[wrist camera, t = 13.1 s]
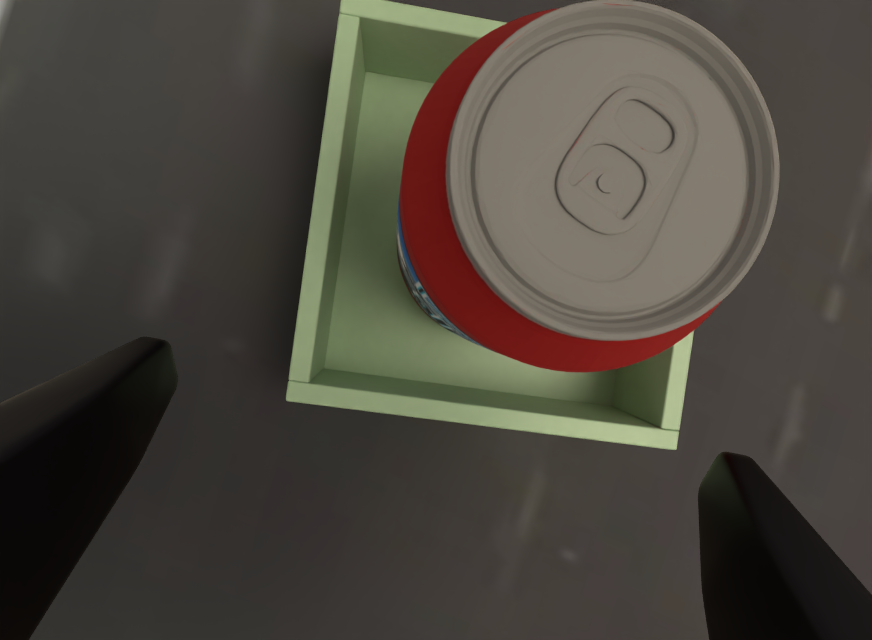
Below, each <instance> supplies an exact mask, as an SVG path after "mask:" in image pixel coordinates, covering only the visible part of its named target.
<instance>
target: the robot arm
mask: <svg viewBox="0 0 872 640" xmlns="http://www.w3.org/2000/svg"><path fill="white" fill-rule="evenodd" d="M177 382H178V375H177V371H176V366H175V362H174V358H173V353H172V349H171V346H170V344H169V343H168V342H167V341H165V340H162V339H157V338H152V337H140V338H138V339H136V340H133V341H131V342H129V343H127V344H125V345H123V346H121V347H118V348H116V349H114V350H112V351H110V352H108V353H106V354H104V355H101V356H99V357H97V358H95V359H93V360H91V361H89V362H86V363H84V364H82V365H80V366H78V367H76V368H74V369H72V370H69V371H67V372H65V373H63V374H61V375H59V376H57V377H54V378H52V379H50V380H48V381H46V382H44V383H42V384H40V385H37V386H35V387H33V388H31V389H29V390H27V391H25V392H22V393H20V394H18V395H16V396H14V397H12V398H10V399H8V400H5V401H3V402H1V403H0V640H29V638H30V637H31V635H32V634H33V632H34V630H35V629H36V627H37V626H38V624H39V622H40V621H41V619H42V618H43V616H44V615H45V613H46V611H47V610H48V608H49V607H50V605H51V604H52V602H53V600H54V599H55V597H56V596H57V594H58V592H59V591H60V589H61V588H62V586H63V585H64V583H65V581H66V580H67V578H68V577H69V575H70V573H71V572H72V570H73V569H74V567H75V566H76V564H77V562H78V561H79V559H80V558H81V556H82V555H83V553H84V551H85V550H86V548H87V547H88V545H89V543H90V542H91V540H92V539H93V537H94V536H95V534H96V532H97V531H98V529H99V528H100V526H101V524H102V523H103V521H104V520H105V518H106V517H107V515H108V513H109V512H110V510H111V509H112V507H113V506H114V504H115V502H116V501H117V499H118V498H119V496H120V494H121V493H122V491H123V490H124V488H125V487H126V485H127V483H128V482H129V480H130V479H131V477H132V475H133V474H134V472H135V470H136V469H137V467H138V465H139V463H140V461H141V459H142V457H143V455H144V453H145V451H146V449H147V447H148V445H149V443H150V441H151V439H152V437H153V435H154V433H155V431H156V429H157V427H158V425H159V423H160V421H161V419H162V417H163V415H164V413H165V411H166V408H167V406H168V404H169V402H170V400H171V398H172V396H173V394H174V392H175V390H176V387H177ZM698 508H699V534H700V560H701V581H702V594H703V601H704V609H705V615H706V621H707V628H708V634H709V640H872V595H871V594H870V592H869V591H868V590H867V589H866V588H865V587H864V586H863V584H862V583H861V582H860V581H859V580H858V579H857V578H856V576H855V575H854V574H853V573H852V572H851V571H850V570H849V568H848V567H847V566H846V565H845V564H844V563H843V562H842V560H841V559H840V558H839V557H838V556H837V555H836V554H835V552H834V551H833V550H832V549H831V548H830V547H829V546H828V544H827V543H826V542H825V541H824V540H823V539H822V538H821V536H820V535H819V534H818V533H817V532H816V531H815V530H814V528H813V527H812V526H811V525H810V524H809V523H808V522H807V520H806V519H805V518H804V517H803V516H802V515H801V514H800V512H799V511H798V510H797V509H796V508H795V507H794V506H793V504H792V503H791V502H790V501H789V500H788V499H787V498H786V496H785V495H784V494H783V493H782V492H781V491H780V490H779V488H778V487H777V486H776V485H775V484H774V483H773V482H772V481H771V479H770V478H769V477H768V476H767V475H766V474H765V473H764V471H763V470H762V469H761V468H760V467H759V466H758V465H757V463H756V462H755V461H754V460H753V459H752V458H750V457H748V456H745V455H740V454H735V453H730V452H722V453H720V454H719V455H718V456H717V457H716V459H715V461H714V462H713V464H712V466H711V467H710V469H709V471H708V472H707V474H706V476H705V477H704V479H703V481H702V482H701V485H700V488H699V493H698Z"/></svg>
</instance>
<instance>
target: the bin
mask: <svg viewBox="0 0 872 640" xmlns="http://www.w3.org/2000/svg"><path fill="white" fill-rule="evenodd" d="M504 24H506V23H505V22H500V21H494V20H489V19H483V18H478V17H472V16H467V15H461V14H456V13H451V12H445V11H440V10H434V9H429V8H423V7H418V6H412V5H407V4H402V3H396V2H391V1H385V0H341V4H340V14H339V18H338V25H337V32H336V39H335V47H334V54H333V61H332V68H331V76H330V83H329V90H328V97H327V104H326V112H325V119H324V126H323V133H322V140H321V148H320V155H319V162H318V169H317V177H316V184H315V191H314V198H313V205H312V213H311V220H310V227H309V234H308V242H307V249H306V256H305V263H304V270H303V278H302V285H301V292H300V299H299V307H298V314H297V321H296V328H295V335H294V343H293V350H292V357H291V364H290V372H289V382H288V386H287V393H286V401H290V402H298V403H306V404H314V405H322V406H329V407H337V408H345V409H353V410H361V411H369V412H377V413H385V414H393V415H400V416H408V417H416V418H424V419H432V420H440V421H448V422H456V423H464V424H472V425H479V426H487V427H495V428H503V429H511V430H519V431H527V432H535V433H543V434H551V435H558V436H566V437H574V438H582V439H590V440H598V441H606V442H614V443H622V444H630V445H637V446H645V447H653V448H661V449H669V450H676V449H677V442H678V435H679V432H678V431H677V430H679V429H680V422H681V415H682V409H683V402H684V395H685V388H686V381H687V375H688V368H689V361H690V354H691V348H692V341H693V334H694V330H693V331H692V332H691V333H690V334H688V335H687V336H686V337H685V338H683V339H682V340H680V341H679V342H677V343H676V344H675V345H673V346H672V347H670V348H668V349H666V350H665V351H663V352H661V353H659V354H657V355H655V356H653V357H651V358H648V359H646V360H644V361H641V362H638V363H635V364H632V365H629V366H625V367H621V368H617V369H612V370H606V371H600V372H585V373H584V372H563V371H554V370H549V369H544V368H539V367H535V366H532V365H529V364H525V363H522V362H520V361H517V360H514V359H512V358H509V357H507V356H504V355H501V354H499V353H496V352H493V351H491V350H488V349H486V348H484V347H481V346H479V345H477V344H474V343H472V342H470V341H468V340H466V339H464V338H462V337H460V336H458V335H456V334H454V333H452V332H450V331H449V330H447V329H445V328H444V327H442V326H440V325H439V324H438V323H436V322H435V321H434V320H432V319H431V318H430V317H429V316H428V315H427V314H426V313H425V312H424V311H423V310H422V309H421V308H420V307H419V305H418V304H417V303H416V302H415V300H414V299H413V297H412V296H411V294H410V292H409V290H408V289H407V287H406V284H405V282H404V280H403V277H402V274H401V271H400V267H399V263H398V256H397V241H396V234H397V212H398V201H399V192H400V184H401V177H402V169H403V162H404V156H405V151H406V146H407V142H408V139H409V135H410V132H411V129H412V126H413V123H414V121H415V118H416V116H417V113H418V111H419V109H420V107H421V105H422V103H423V101H424V99H425V98H426V96H427V94H428V93H429V91H430V89H431V88H432V86H433V85H434V83H435V82H436V81H437V79H438V78H439V77H440V75H441V74H442V73H443V71H444V70H445V69H446V68H447V67H448V66H449V65H450V64H451V63H452V61H453V60H454V59H455V58H457V57H458V56H459V55H460V54H461V53H462V52H463V51H464V50H465V49H466V48H468V47H469V46H470V45H472V44H473V43H474V42H475V41H477V40H478V39H480V38H481V37H483V36H484V35H486V34H487V33H489V32H491V31H492V30H494V29H496V28H498V27H500V26H502V25H504Z"/></svg>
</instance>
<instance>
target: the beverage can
mask: <svg viewBox="0 0 872 640" xmlns="http://www.w3.org/2000/svg"><path fill="white" fill-rule="evenodd" d="M778 189H779V154H778V146H777V140H776V135H775V130H774V126H773V123H772V119H771V116H770V113H769V111H768V108H767V106H766V103H765V101H764V98H763V96H762V94H761V92H760V90H759V88H758V86H757V85H756V83H755V81H754V80H753V78H752V76H751V75H750V73H749V72H748V71H747V69H746V68H745V66H744V65H743V64H742V62H741V61H740V60H739V59H738V58H737V56H736V55H735V54H734V53H733V52H732V51H731V50H730V49H729V48H728V47H727V46H726V45H725V44H724V43H723V42H722V41H721V40H719V39H718V38H717V37H716V36H715V35H713V34H712V33H711V32H710V31H708V30H707V29H705V28H704V27H702V26H701V25H699V24H698V23H696V22H694V21H692V20H691V19H689V18H687V17H685V16H683V15H681V14H679V13H676V12H674V11H672V10H669V9H666V8H663V7H660V6H657V5H653V4H649V3H644V2H638V1H632V0H594V1H587V2H582V3H576V4H572V5H569V6H565V7H562V8H558V9H551V10H546V11H541V12H537V13H533V14H530V15H527V16H523V17H521V18H518V19H516V20H513V21H511V22H508V23H506V24H504V25H502V26H500V27H498V28H496V29H494V30H492V31H491V32H489V33H487V34H486V35H484V36H483V37H481V38H480V39H478V40H477V41H475V42H474V43H473V44H472V45H470V46H469V47H468V48H466V49H465V50H464V51H463V52H462V53H461V54H460V55H459V56H458V57H457V58H455V59H454V60H453V61H452V63H451V64H450V65H449V66H448V67H447V68H446V69H445V70H444V71H443V73H442V74H441V75H440V77H439V78H438V79H437V81H436V82H435V83H434V85H433V86H432V88H431V89H430V91H429V93H428V94H427V96H426V98H425V99H424V101H423V103H422V105H421V107H420V109H419V111H418V113H417V116H416V118H415V121H414V123H413V126H412V129H411V132H410V135H409V139H408V142H407V146H406V151H405V156H404V162H403V169H402V177H401V184H400V192H399V201H398V212H397V234H396V241H397V256H398V263H399V267H400V271H401V274H402V277H403V280H404V282H405V284H406V287H407V289H408V290H409V292H410V294H411V296H412V297H413V299H414V300H415V302H416V303H417V304H418V305H419V307H420V308H421V309H422V310H423V311H424V312H425V313H426V314H427V315H428V316H429V317H430V318H431V319H432V320H434V321H435V322H436V323H438V324H439V325H440V326H442V327H444V328H445V329H447V330H449V331H450V332H452V333H454V334H456V335H458V336H460V337H462V338H464V339H466V340H468V341H470V342H472V343H474V344H477V345H479V346H481V347H484V348H486V349H488V350H491V351H493V352H496V353H499V354H501V355H504V356H507V357H509V358H512V359H514V360H517V361H520V362H522V363H525V364H529V365H532V366H535V367H539V368H544V369H549V370H554V371H563V372H584V373H585V372H600V371H606V370H612V369H617V368H621V367H625V366H629V365H632V364H635V363H638V362H641V361H644V360H646V359H648V358H651V357H653V356H655V355H657V354H659V353H661V352H663V351H665V350H666V349H668V348H670V347H672V346H673V345H675V344H676V343H677V342H679V341H680V340H682V339H683V338H685V337H686V336H687V335H688V334H690V333H691V332H692V331H693V330H695V329H696V328H697V327H698V326H699V325H700V324H701V323H702V322H703V321H704V320H705V319H706V318H708V317H709V316H710V314H711V313H712V312H713V311H714V310H715V309H716V307H717V306H718V305H719V304H720V302H721V301H722V300H723V299H724V298H725V297H726V296H727V295H728V294H729V293H730V292H731V291H732V290H733V289H734V288H735V287H736V286H737V285H738V283H739V282H740V281H741V280H742V278H743V277H744V276H745V274H746V273H747V272H748V270H749V269H750V268H751V266H752V265H753V263H754V261H755V259H756V258H757V256H758V254H759V252H760V250H761V248H762V246H763V244H764V242H765V240H766V237H767V235H768V232H769V229H770V226H771V223H772V220H773V217H774V213H775V208H776V203H777V197H778Z"/></svg>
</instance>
